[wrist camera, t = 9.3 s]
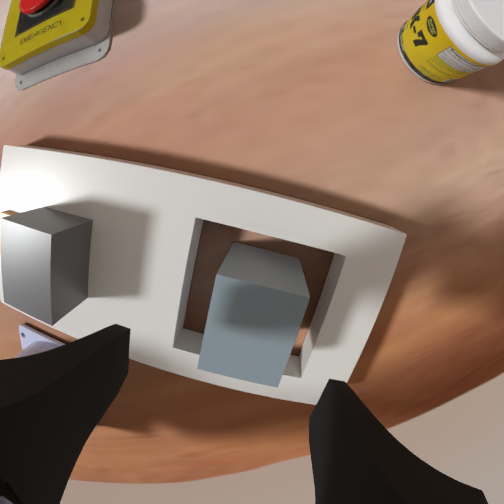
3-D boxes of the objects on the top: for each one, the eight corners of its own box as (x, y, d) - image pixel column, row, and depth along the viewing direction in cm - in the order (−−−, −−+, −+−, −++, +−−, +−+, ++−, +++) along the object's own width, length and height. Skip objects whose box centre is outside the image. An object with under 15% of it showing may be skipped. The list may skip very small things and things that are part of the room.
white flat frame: (329, 385, 21) (335, 413, 18) (19, 291, 21) (-4, 304, 18) (391, 225, 18) (411, 236, 15) (26, 145, 18) (-2, 145, 15)
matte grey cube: (87, 297, 18) (52, 326, 14) (41, 280, 18) (4, 302, 14) (93, 219, 16) (51, 234, 12) (43, 206, 16) (0, 218, 12)
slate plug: (277, 329, 20) (277, 387, 14) (217, 315, 20) (197, 368, 14) (299, 257, 19) (310, 297, 13) (233, 241, 19) (216, 274, 13)
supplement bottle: (399, 11, 14) (455, -51, 6) (458, 42, 14) (529, 2, 6) (389, 67, 15) (457, 15, 7) (452, 97, 15) (536, 73, 7)
